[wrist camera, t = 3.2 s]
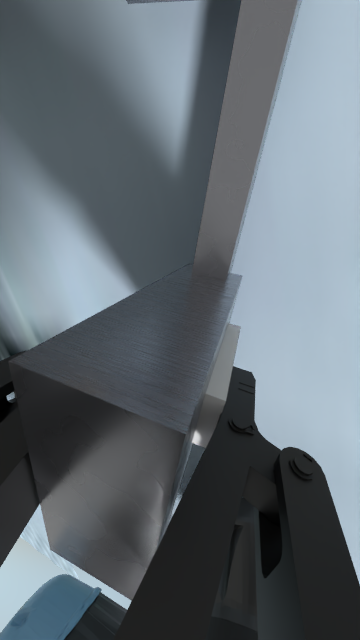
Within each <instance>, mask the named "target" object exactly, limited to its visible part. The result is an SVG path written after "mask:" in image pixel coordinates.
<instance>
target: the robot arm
mask: <svg viewBox="0 0 360 640" xmlns="http://www.w3.org/2000/svg"><path fill="white" fill-rule="evenodd" d="M239 333H240V326H236V325H233V324H228V327H227V330H226V333H225V336H224V339H223V342H222V345H221V348H220V351H219V354H218V357H217V360H216V363H215V366H214V370H213V373H212V376H211V379H210V382H209V385H208V388H207V391H206V394H205V398H204V401H203V405H202V409H201V412H200V416H199V419H198V423H197V427H196V430H195V434H194V437H193V441H192V443H194V444H197V445H199V446H201V447H204V448H206V449H205V451H204V453H203V455H202V457H201V459H200V461H199V463H198V465H197V467H196V469H195V472H194V474H193V476H192V478H191V480H190V482H189V484H188V486H187V488H186V490H185V492H184V494H183V496H182V498H181V500H180V503H179V505H178V507H177V509H176V511H175V513H174V515H173V517H172V519H171V521H170V523H169V525H168V527H167V529H166V531H165V534H164V536H163V538H162V540H161V542H160V544H159V546H158V548H157V550H156V552H155V554H154V556H153V558H152V560H151V562H150V565H149V567H148V569H147V571H146V573H145V575H144V577H143V579H142V581H141V583H140V585H139V587H138V589H137V591H136V594H135V596H134V598H133V600H132V602H131V604H130V606H129V608H128V610H126V609H125V608H123V607H122V606H120V605H119V604H117V603H116V602H114V601H113V600H111V599H110V598H108V597H107V596H105V595H104V594H102V593H101V588H99V587H96V588H92V587H90V586H89V585H87V584H85V583H83V582H82V581H80V580H78V579H76V578H74V577H73V576H71V575H67V574H62V575H58V576H56V577H54V578H52V579H50V580H49V581H48V582H46V583H45V584H44V585H42V587H40V588H39V589H38V590H37V591H36V592H35V593H34V594H33V595H32V596H31V597H30V599H28V601H27V602H26V603H25V604H24V605H23V606H22V607H21V608H20V610H19V611H18V612H17V613H16V614H15V616H14V617H13V618H12V619H11V621H10V622H9V623H8V624H7V626H6V627H5V628H4V629H3V631H2V632H1V633H0V640H360V585H359V582H358V578H357V575H356V572H355V569H354V566H353V563H352V560H351V556H350V553H349V550H348V547H347V544H346V541H345V537H344V534H343V531H342V528H341V525H340V522H339V518H338V515H337V512H336V509H335V506H334V503H333V500H332V496H331V493H330V490H329V487H328V484H327V481H326V477H325V475H324V473H323V471H322V469H321V467H320V466H319V464H318V463H317V462H316V461H315V460H314V458H312V457H311V456H310V455H309V454H307V453H306V452H304V451H302V450H300V449H298V448H293V447H287V448H284V449H283V450H282V451H281V450H280V449H279V448H277V447H276V446H274V445H273V444H271V443H270V442H268V441H267V440H266V439H265V438H264V437H263V436H262V435H261V434H260V433H259V431H258V428H257V426H256V424H255V421H254V412H255V382H256V380H255V378H254V376H253V374H252V372H249V371H246V370H243V369H240V368H237V367H234V366H233V363H234V358H235V353H236V348H237V343H238V338H239ZM24 352H26V351H22V352H20V353H17V354H15V355H13V356H11V357H8V358H6V359H4V360H2V361H0V567H1V565H2V564H3V562H4V561H5V559H6V557H7V556H8V554H9V552H10V551H11V549H12V548H13V546H14V544H15V543H16V541H17V539H18V538H19V536H20V535H21V533H22V531H23V530H24V528H25V527H26V525H27V523H28V522H29V520H30V518H31V517H32V515H33V514H34V512H35V510H36V509H37V507H38V505H39V504H40V501H39V496H38V492H37V487H36V483H35V478H34V474H33V469H32V465H31V460H30V456H29V452H28V447H27V443H26V438H25V434H24V429H23V425H22V420H21V416H20V411H19V407H18V402H17V398H16V393H15V389H14V385H13V380H12V376H11V371H10V367H9V362H8V361H10V360H11V359H13V358H15V357H17V356H19V355H21V354H23V353H24ZM13 391H14V394H15V398H14V399H12V400H9V401H8V400H7V397H6V396H7V395H9V394H10V393H12V392H13ZM242 497H244V498H242Z"/></svg>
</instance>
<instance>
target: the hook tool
mask: <svg viewBox="0 0 360 640" xmlns="http://www.w3.org/2000/svg"><path fill="white" fill-rule="evenodd" d="M126 1H127V2H128V4H132V3H152V2H172V1H192V0H126ZM301 1H302V0H241V5H240V11H239V16H238V22H237V27H236V33H235V38H234V44H233V49H232V55H231V60H230V66H229V71H228V77H227V82H226V88H225V93H224V99H223V104H222V110H221V115H220V121H219V126H218V132H217V137H216V143H215V148H214V154H213V159H212V165H211V170H210V175H209V181H208V186H207V192H206V197H205V203H204V208H203V214H202V219H201V225H200V230H199V236H198V241H197V247H196V252H195V258H194V263H193V264H188V265H186V266H184V267H182V268H180V269H179V270H177V271H175V272H173V273H171V274H169V275H167V276H166V277H164V278H162V279H160V280H158V281H156V282H154V283H153V284H151V285H149V286H147V287H145V288H143V289H141V290H140V291H138V292H136V293H134V294H132V295H130V296H128V297H127V298H125V299H123V300H121V301H119V302H117V303H115V304H114V305H112V306H110V307H108V308H106V309H104V310H102V311H101V312H99V313H97V314H95V315H93V316H91V317H89V318H88V319H86V320H84V321H82V322H80V323H78V324H76V325H75V326H73V327H71V328H69V329H67V330H65V331H63V332H62V333H60V334H58V335H56V336H54V337H52V338H50V339H49V340H47V341H45V342H43V343H41V344H39V345H37V346H36V347H34V348H32V349H30V350H28V351H26V352H24V353H23V354H21V355H19V356H17V357H15V358H13V359H11V360H10V361H8V362H9V367H10V371H11V376H12V380H13V385H14V389H15V393H16V398H17V402H18V407H19V411H20V416H21V420H22V425H23V429H24V434H25V438H26V443H27V447H28V452H29V456H30V460H31V465H32V469H33V474H34V478H35V483H36V487H37V492H38V496H39V501H40V505H41V510H42V514H43V519H44V523H45V527H46V532H47V536H48V541H49V545H50V550H52V551H53V552H55V553H57V554H58V555H60V556H61V557H63V558H65V559H66V560H68V561H69V562H71V563H73V564H74V565H76V566H77V567H79V568H80V569H82V570H84V571H85V572H87V573H88V574H90V575H92V576H93V577H95V578H96V579H98V580H100V581H101V582H103V583H104V584H106V585H108V586H109V587H111V588H113V589H114V590H116V591H117V592H119V593H120V594H122V595H124V596H125V597H127V598H129V599H130V600H133V598H134V596H135V594H136V591H137V589H138V587H139V585H140V583H141V581H142V579H143V577H144V575H145V573H146V571H147V569H148V567H149V565H150V562H151V560H152V558H153V556H154V554H155V552H156V550H157V548H158V546H159V544H160V542H161V540H162V538H163V536H164V534H165V531H166V529H167V526H168V523H169V519H170V516H171V513H172V510H173V506H174V503H175V500H176V497H177V494H178V490H179V487H180V484H181V481H182V477H183V474H184V471H185V468H186V464H187V461H188V458H189V455H190V452H191V448H192V445H193V443H192V441H193V437H194V434H195V430H196V427H197V423H198V419H199V416H200V412H201V409H202V405H203V401H204V398H205V394H206V391H207V388H208V385H209V382H210V379H211V376H212V373H213V370H214V366H215V363H216V360H217V357H218V354H219V351H220V348H221V345H222V342H223V339H224V336H225V333H226V330H227V327H228V324H229V321H230V318H231V314H232V311H233V307H234V304H235V300H236V297H237V293H238V290H239V286H240V283H241V279H242V276H241V275H236V274H232V273H231V270H232V266H233V262H234V258H235V254H236V251H237V247H238V243H239V239H240V235H241V231H242V227H243V224H244V220H245V216H246V212H247V208H248V204H249V201H250V197H251V193H252V189H253V185H254V181H255V178H256V174H257V170H258V166H259V162H260V158H261V154H262V151H263V147H264V143H265V139H266V135H267V131H268V128H269V124H270V120H271V116H272V112H273V108H274V104H275V101H276V97H277V93H278V89H279V85H280V81H281V78H282V74H283V70H284V66H285V62H286V58H287V55H288V51H289V47H290V43H291V39H292V35H293V31H294V28H295V24H296V20H297V16H298V12H299V8H300V5H301Z"/></svg>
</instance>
